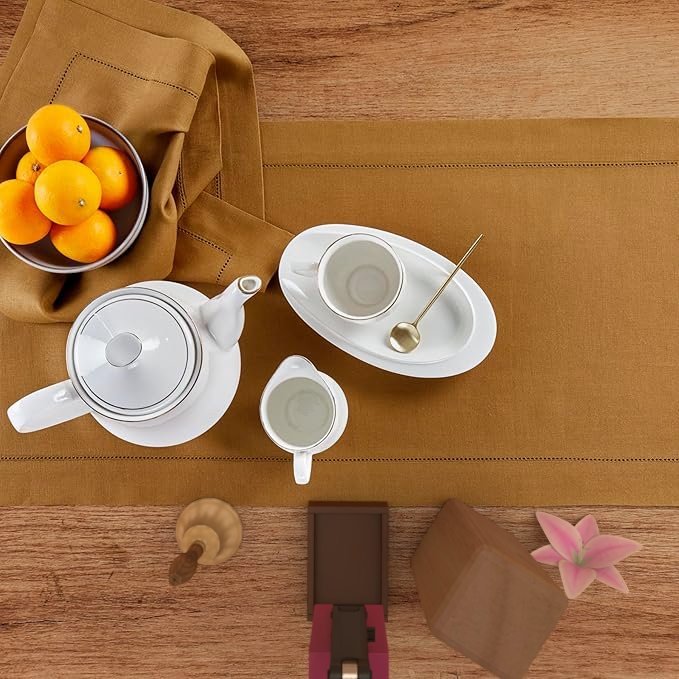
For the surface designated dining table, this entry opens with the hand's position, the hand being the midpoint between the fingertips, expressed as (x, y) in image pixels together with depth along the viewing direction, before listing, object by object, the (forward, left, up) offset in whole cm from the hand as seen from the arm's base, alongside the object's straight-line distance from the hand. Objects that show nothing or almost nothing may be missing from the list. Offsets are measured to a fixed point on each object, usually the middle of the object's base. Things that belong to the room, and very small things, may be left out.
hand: (348, 648), depth 56 cm
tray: (0, 0, -24) cm, 24 cm away
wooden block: (+1, -14, -24) cm, 28 cm away
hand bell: (+3, +17, -24) cm, 30 cm away
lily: (+2, -27, -24) cm, 36 cm away
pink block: (0, 0, -2) cm, 2 cm away
